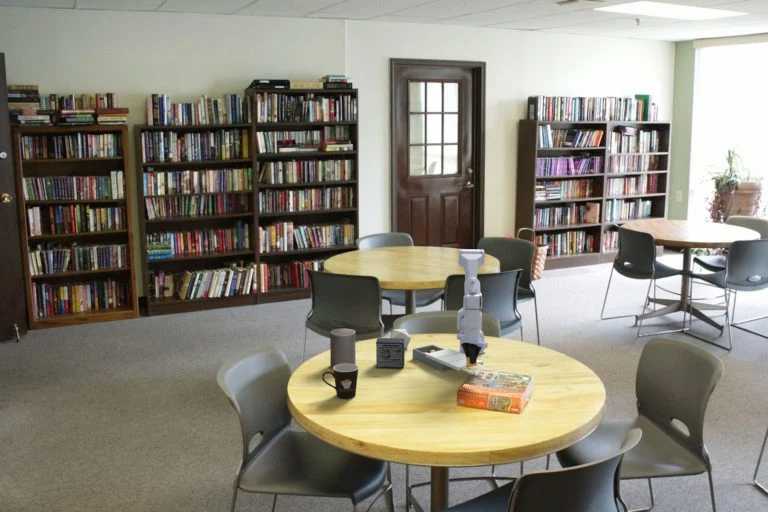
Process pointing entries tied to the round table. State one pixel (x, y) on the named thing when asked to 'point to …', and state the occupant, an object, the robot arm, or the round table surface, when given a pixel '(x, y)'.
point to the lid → (452, 359)
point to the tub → (420, 356)
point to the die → (401, 336)
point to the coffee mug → (344, 380)
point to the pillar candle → (342, 347)
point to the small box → (390, 353)
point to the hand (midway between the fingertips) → (471, 362)
